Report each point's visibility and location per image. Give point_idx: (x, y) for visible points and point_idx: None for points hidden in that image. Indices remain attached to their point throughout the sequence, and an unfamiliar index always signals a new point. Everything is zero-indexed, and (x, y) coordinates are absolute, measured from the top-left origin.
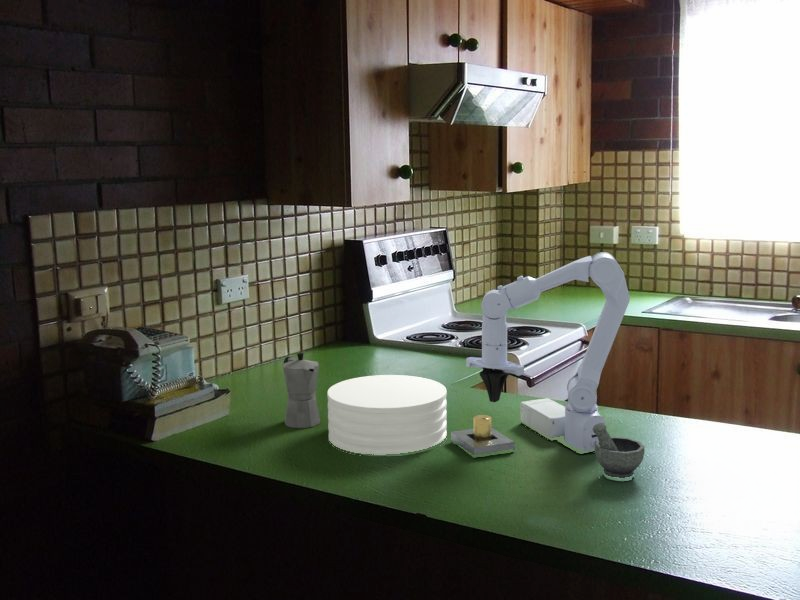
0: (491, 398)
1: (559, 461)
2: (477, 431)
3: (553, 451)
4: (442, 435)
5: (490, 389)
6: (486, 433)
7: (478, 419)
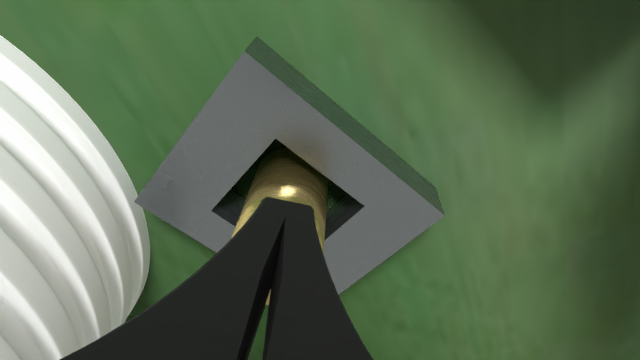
0: (271, 282)
1: (632, 207)
2: None
3: (612, 112)
4: (100, 177)
5: (248, 354)
6: None
7: (267, 299)
